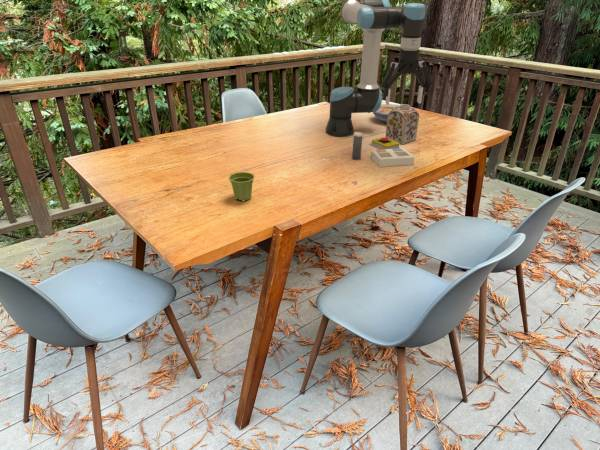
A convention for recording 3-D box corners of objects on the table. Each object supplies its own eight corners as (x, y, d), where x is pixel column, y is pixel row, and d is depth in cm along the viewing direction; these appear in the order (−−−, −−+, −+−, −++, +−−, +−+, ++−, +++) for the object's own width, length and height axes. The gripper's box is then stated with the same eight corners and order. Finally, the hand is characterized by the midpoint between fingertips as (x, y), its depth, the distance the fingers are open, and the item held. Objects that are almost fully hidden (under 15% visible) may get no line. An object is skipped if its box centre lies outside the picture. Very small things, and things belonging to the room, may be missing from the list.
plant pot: (231, 192, 160) (229, 172, 156) (255, 192, 161) (254, 171, 156) (229, 204, 152) (227, 182, 148) (255, 203, 153) (254, 181, 148)
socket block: (370, 157, 194) (371, 149, 192) (402, 155, 196) (403, 147, 194) (379, 167, 183) (380, 158, 181) (413, 164, 186) (414, 156, 184)
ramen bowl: (369, 114, 256) (371, 101, 252) (407, 116, 253) (409, 102, 249) (370, 126, 234) (371, 112, 230) (411, 128, 232) (413, 114, 228)
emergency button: (382, 133, 211) (404, 142, 201) (381, 142, 214) (402, 150, 203) (369, 136, 207) (390, 145, 196) (368, 145, 209) (389, 154, 199)
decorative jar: (402, 145, 208) (407, 109, 199) (384, 139, 216) (388, 104, 207) (416, 140, 215) (422, 105, 206) (398, 134, 223) (402, 100, 214)
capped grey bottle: (350, 157, 194) (352, 132, 188) (358, 156, 194) (361, 131, 188) (353, 160, 190) (355, 134, 184) (361, 159, 191) (363, 134, 185)
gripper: (381, 51, 156) (376, 107, 168) (444, 49, 158) (435, 104, 170) (375, 48, 162) (371, 102, 174) (437, 45, 165) (428, 99, 176)
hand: (403, 103), depth 172 cm, fingers open, 13 cm apart
